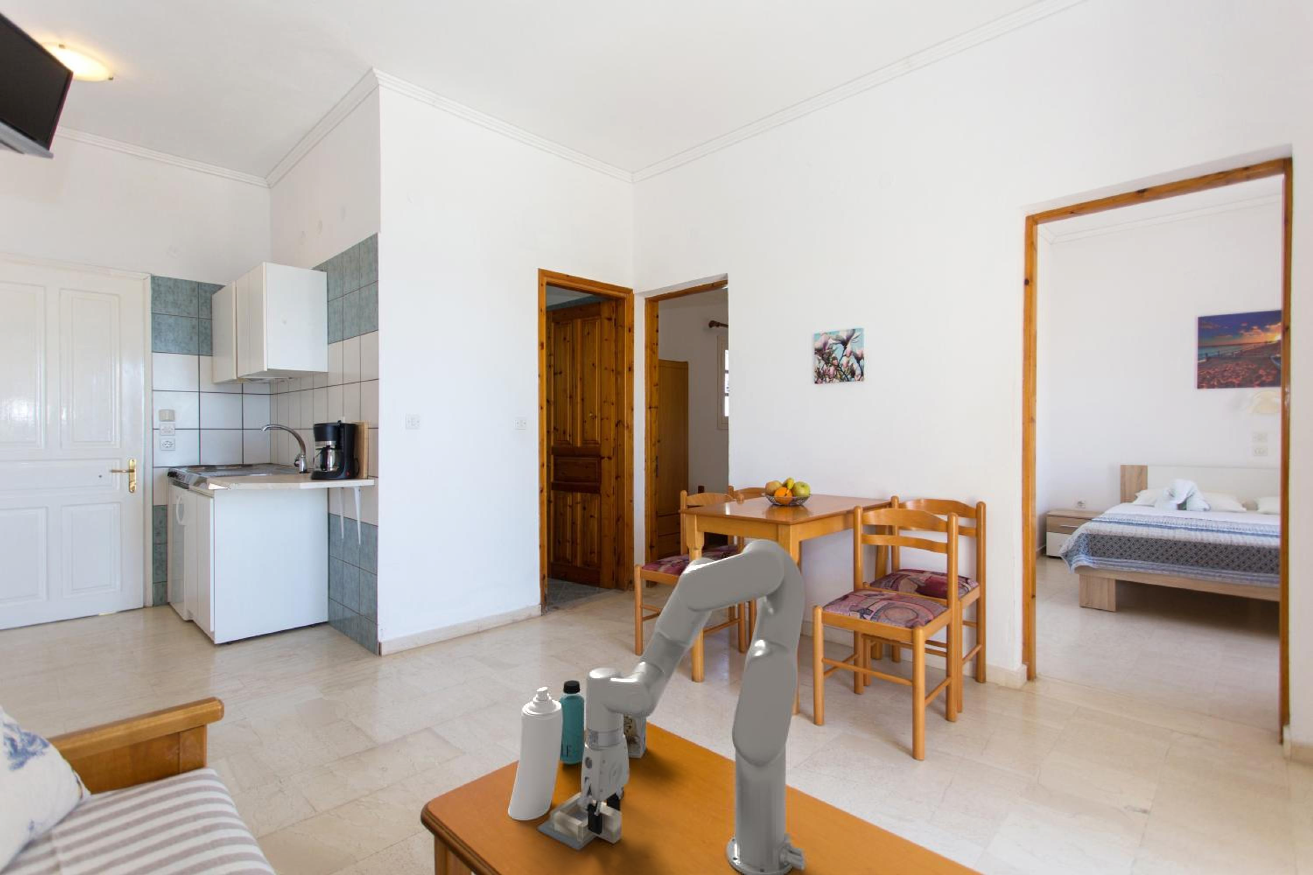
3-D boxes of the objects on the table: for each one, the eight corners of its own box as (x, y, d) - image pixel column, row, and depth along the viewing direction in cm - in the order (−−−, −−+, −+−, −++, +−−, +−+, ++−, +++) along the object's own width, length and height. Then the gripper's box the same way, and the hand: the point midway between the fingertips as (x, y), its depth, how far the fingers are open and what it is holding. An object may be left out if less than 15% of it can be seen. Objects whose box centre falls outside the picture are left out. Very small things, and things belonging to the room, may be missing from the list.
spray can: (521, 788, 144) (522, 678, 144) (567, 792, 143) (567, 680, 143) (501, 818, 133) (502, 698, 133) (550, 823, 131) (551, 701, 131)
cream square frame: (631, 828, 128) (631, 804, 128) (602, 852, 121) (602, 826, 121) (579, 805, 136) (579, 782, 136) (549, 826, 129) (549, 801, 129)
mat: (617, 819, 132) (617, 816, 132) (578, 850, 123) (578, 846, 123) (577, 802, 139) (577, 799, 139) (537, 829, 129) (537, 826, 129)
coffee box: (605, 754, 160) (606, 690, 160) (613, 743, 166) (613, 681, 166) (641, 759, 158) (641, 694, 158) (647, 746, 164) (647, 684, 164)
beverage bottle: (587, 757, 158) (587, 677, 158) (581, 771, 152) (582, 687, 152) (561, 756, 159) (562, 676, 159) (555, 770, 152) (555, 686, 152)
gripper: (590, 755, 118) (590, 854, 117) (644, 722, 131) (644, 810, 131) (561, 744, 122) (560, 839, 122) (616, 713, 136) (616, 798, 136)
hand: (604, 823), depth 127 cm, fingers open, 4 cm apart
